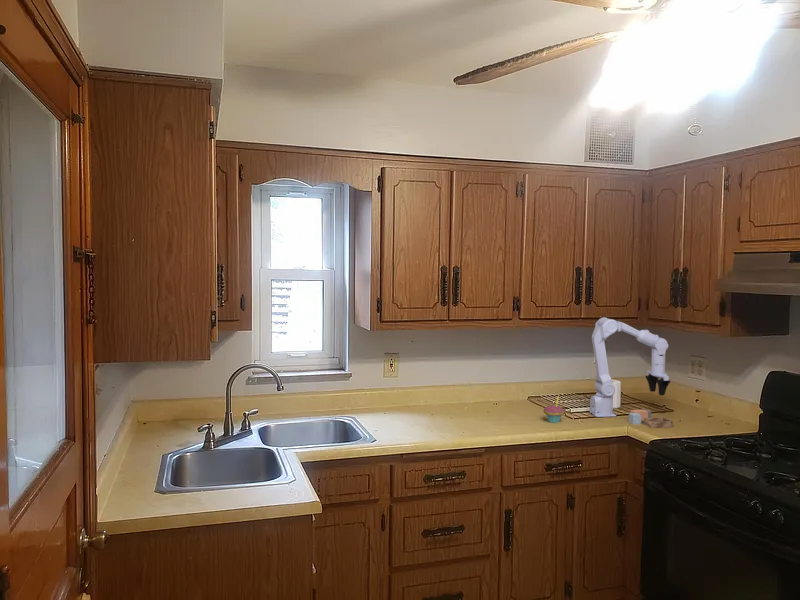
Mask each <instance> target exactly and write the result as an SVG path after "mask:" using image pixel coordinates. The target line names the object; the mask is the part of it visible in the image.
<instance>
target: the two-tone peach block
mask: <svg viewBox="0 0 800 600" xmlns="http://www.w3.org/2000/svg"><path fill="white" fill-rule="evenodd" d="M629 413H638V414H640V415H641V421H642V420H644V418H652V411H651V410H649V409H630V410H629Z"/></svg>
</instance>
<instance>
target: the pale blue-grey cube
mask: <svg viewBox="0 0 800 600" xmlns="http://www.w3.org/2000/svg"><path fill="white" fill-rule="evenodd" d="M641 421H642V420H641V415H640V414H638V413H630V412H629V413H628V423H630V424H631V425H642V423H641Z"/></svg>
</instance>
